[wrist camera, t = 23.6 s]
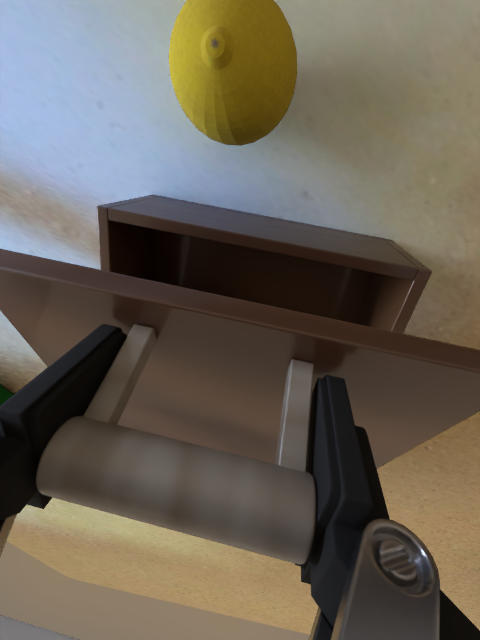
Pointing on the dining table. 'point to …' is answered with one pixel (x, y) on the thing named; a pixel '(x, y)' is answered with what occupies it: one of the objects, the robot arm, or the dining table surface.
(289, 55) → the lemon
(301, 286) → the box
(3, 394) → the milk carton
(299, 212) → the dining table surface
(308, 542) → the lid
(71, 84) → the dining table surface
